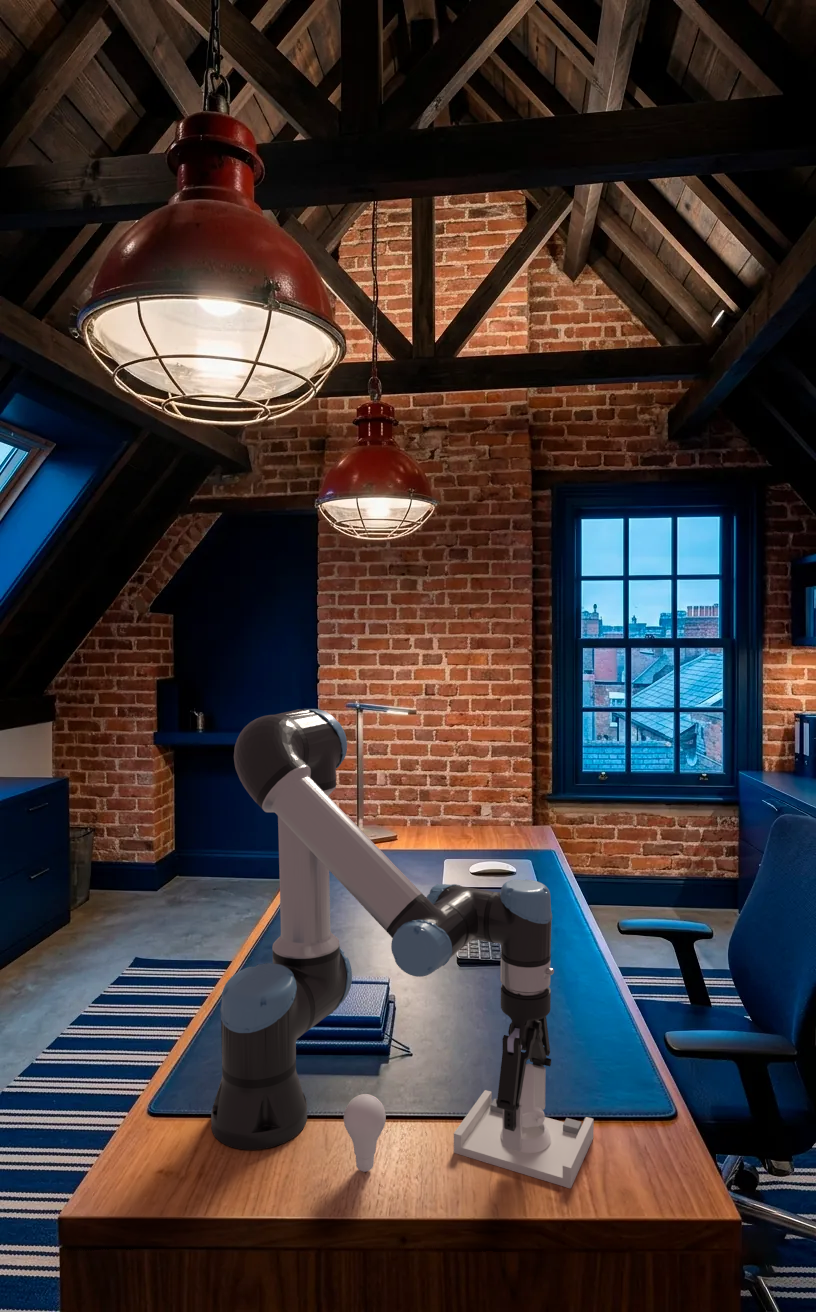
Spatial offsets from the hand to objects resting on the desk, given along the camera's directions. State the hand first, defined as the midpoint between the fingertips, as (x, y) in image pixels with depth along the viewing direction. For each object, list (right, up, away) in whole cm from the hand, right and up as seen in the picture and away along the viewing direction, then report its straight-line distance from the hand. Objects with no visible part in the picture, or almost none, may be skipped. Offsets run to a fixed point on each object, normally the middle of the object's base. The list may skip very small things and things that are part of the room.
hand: (524, 1126), depth 129 cm
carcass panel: (0, -3, 0) cm, 3 cm away
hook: (0, -2, 0) cm, 2 cm away
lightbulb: (-24, -3, -6) cm, 25 cm away
